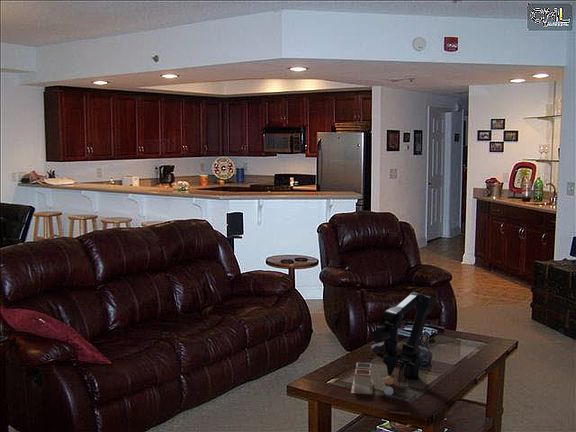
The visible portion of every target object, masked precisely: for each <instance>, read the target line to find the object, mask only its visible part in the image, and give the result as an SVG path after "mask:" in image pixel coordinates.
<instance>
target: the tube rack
mask: <svg viewBox="0 0 576 432" xmlns="http://www.w3.org/2000/svg"><path fill="white" fill-rule="evenodd" d="M355 364H356V365H355V371H354V377H353V382H352V384H351V385H352V386H351V392H350V393H351V394H361V395H373V387H374V379H372V366H373V365H372V363H368V362H356V363H355Z"/></svg>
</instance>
